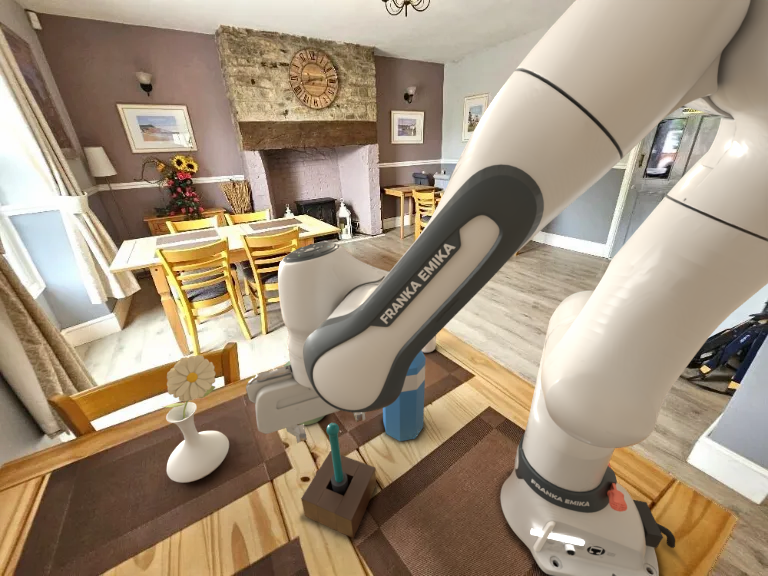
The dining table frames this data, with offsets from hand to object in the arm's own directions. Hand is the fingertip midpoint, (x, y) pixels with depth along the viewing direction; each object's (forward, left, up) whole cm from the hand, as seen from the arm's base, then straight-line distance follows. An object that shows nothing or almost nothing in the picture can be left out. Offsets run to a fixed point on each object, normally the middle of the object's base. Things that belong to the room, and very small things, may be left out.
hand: (331, 427), depth 49 cm
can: (-2, -51, -19) cm, 54 cm away
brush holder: (0, 0, -18) cm, 18 cm away
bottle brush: (0, 0, -18) cm, 18 cm away
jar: (+18, -16, -18) cm, 30 cm away
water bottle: (-5, -20, -19) cm, 28 cm away
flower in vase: (+31, +3, -19) cm, 36 cm away
